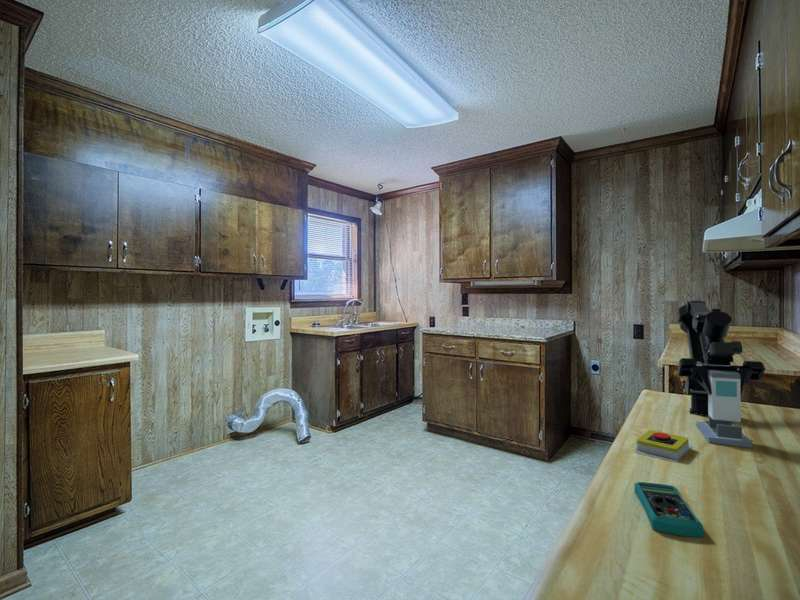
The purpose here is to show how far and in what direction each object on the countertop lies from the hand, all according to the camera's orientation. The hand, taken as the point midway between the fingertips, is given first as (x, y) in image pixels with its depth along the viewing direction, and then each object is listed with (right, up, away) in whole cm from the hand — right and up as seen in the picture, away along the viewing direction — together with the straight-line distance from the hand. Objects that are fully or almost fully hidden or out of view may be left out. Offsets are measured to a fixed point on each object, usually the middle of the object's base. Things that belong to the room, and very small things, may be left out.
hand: (725, 395), depth 109 cm
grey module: (+1, -7, +1) cm, 7 cm away
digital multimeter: (-39, -14, -35) cm, 54 cm away
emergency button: (-20, -13, -5) cm, 24 cm away
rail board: (+2, -12, +4) cm, 13 cm away
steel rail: (+2, -11, +4) cm, 11 cm away
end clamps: (+1, -10, +1) cm, 10 cm away
